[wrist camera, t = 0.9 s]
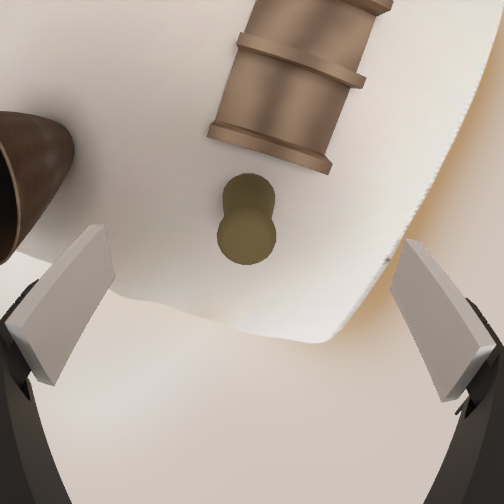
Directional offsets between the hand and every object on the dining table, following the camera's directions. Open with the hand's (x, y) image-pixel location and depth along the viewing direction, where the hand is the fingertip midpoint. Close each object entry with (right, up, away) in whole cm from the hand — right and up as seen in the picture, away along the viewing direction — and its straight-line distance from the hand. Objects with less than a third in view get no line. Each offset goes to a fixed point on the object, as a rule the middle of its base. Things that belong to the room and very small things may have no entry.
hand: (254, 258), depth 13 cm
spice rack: (+6, +24, +13) cm, 27 cm away
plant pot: (-25, +13, +19) cm, 34 cm away
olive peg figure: (0, +6, +23) cm, 24 cm away
